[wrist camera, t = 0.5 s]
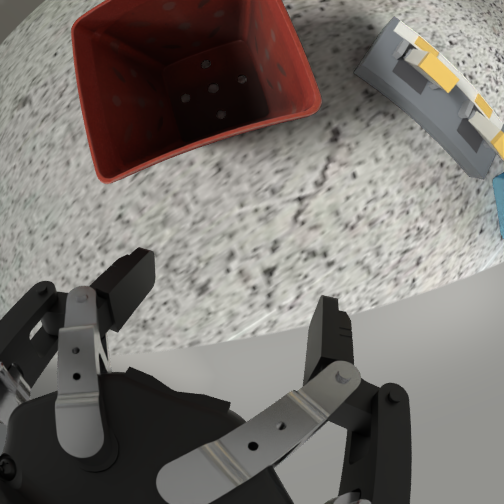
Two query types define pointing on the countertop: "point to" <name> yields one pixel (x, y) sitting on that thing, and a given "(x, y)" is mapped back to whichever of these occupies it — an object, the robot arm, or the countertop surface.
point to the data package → (499, 199)
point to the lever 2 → (488, 132)
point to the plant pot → (184, 76)
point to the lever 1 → (431, 68)
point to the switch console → (430, 97)
